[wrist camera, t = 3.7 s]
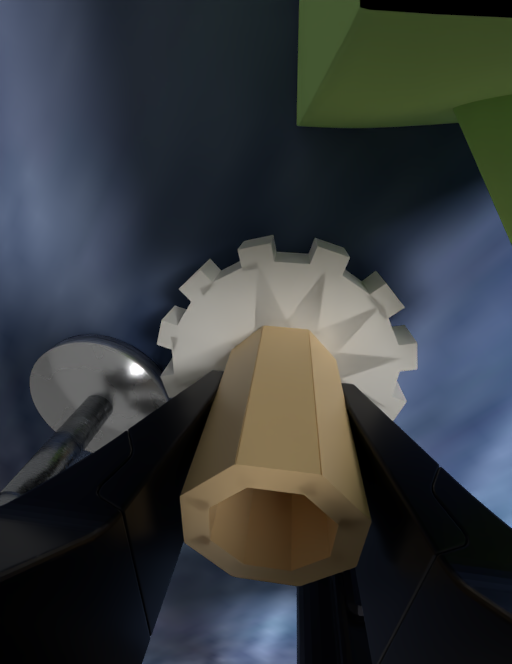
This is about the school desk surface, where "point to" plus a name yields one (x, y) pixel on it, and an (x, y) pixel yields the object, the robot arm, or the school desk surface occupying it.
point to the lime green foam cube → (411, 77)
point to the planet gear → (283, 406)
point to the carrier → (86, 402)
